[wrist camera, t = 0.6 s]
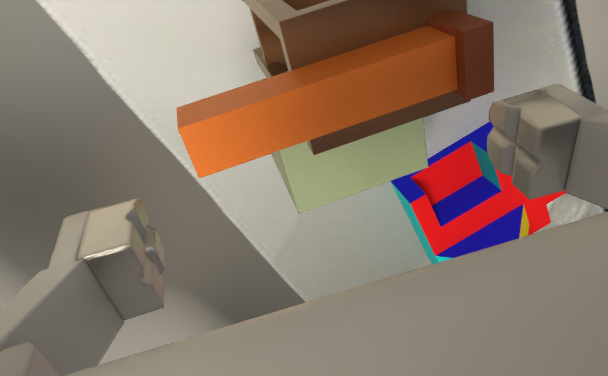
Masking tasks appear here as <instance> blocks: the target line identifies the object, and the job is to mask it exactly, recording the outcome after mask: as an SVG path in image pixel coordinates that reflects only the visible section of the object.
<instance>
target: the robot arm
mask: <svg viewBox="0 0 608 376" xmlns="http://www.w3.org/2000/svg"><path fill="white" fill-rule="evenodd" d="M489 121H490V122H491V123H492V124H493V126H494V127H493V129H492V130H491V132H490V133H489V135H488V136H487V151H488V155H489V159H490V161H491V162H492V164H493V166H494V167H495V168H496V169H497V170H498V171H499V172H500V173H503V174H506V175H509V176H512V184H513V185H514V186H515V187H516V188H517V189H518V190H519V191H520V192H521V193H523V194H524V195H525V196H526V197H527V198H528V199H529V200H531V199H535V198H539V197H542V196H546V195H550V194H554V193H558V192H561V191H565V193H568V194H570V195H573V196H576V197H578V198H581V199H583V200H586V201H588V202H591V203H593V204H596V205H598V206H601V207H603V208H606V209H608V110H606V109H604V108H602V107H600V106H598V105H597V104H595V103H593V102H591V101H590V100H588V99H586V98H584V97H582V96H581V95H579V94H577V93H575V92H573V91H572V90H570V89H568V88H566V87H564V86H563V85H559V84H553V85H549V86H546V87H543V88H540V89H537V90H534V91H531V92H527V93H524V94H521V95H517V96H514V97H511V98H507V99H504V100H501V101H497V102H494V103H492V106H491V108H490V111H489ZM164 260H165V259H164V254H163V249H162V245H161V242H160V239H159V236H158V234H157V232H156V230H155V229H154V228H152V227H150V226H148V225H147V212H146V210H145V208H144V206H143V204H142V202H141V201H140V200H138V199H134V200H130V201H126V202H122V203H118V204H114V205H110V206H107V207H103V208H98V209H94V210H91V211H86V212H82V213H79V214H75V215H72V216H69V217H67V218H65V219H64V220H63V223H62V226H61V229H60V232H59V235H58V239H57V242H56V245H55V248H54V251H53V254H52V258H51V261H50V264H49V267H48V269H46V270H42V271H40V272H39V273H38V274H37V275H36V276H35V277H34V278H32V279H31V280H30V281H29V282H28V283H27V284H26V285H25V286H24V287H23V288H22V289H21V290H20V291H19V292H18V293H17V294H16V295H14V296H13V297H12V298H11V299H10V300H9V301H8V302H7V303H6V304H5V305H4V306H3V307H2V308H1V309H0V376H608V212H605V213H602V214H598V215H595V216H592V217H588V218H585V219H582V220H578V221H575V222H572V223H568V224H565V225H562V226H558V227H555V228H552V229H548V230H545V231H542V232H538V233H535V234H532V235H529V236H525V237H522V238H519V239H515V240H512V241H509V242H505V243H502V244H499V245H495V246H492V247H489V248H485V249H482V250H479V251H475V252H472V253H469V254H465V255H462V256H459V257H456V258H452V259H449V260H446V261H442V262H439V263H436V264H433V265H429V266H426V267H423V268H419V269H416V270H413V271H409V272H406V273H403V274H399V275H396V276H393V277H389V278H386V279H383V280H379V281H376V282H373V283H370V284H366V285H363V286H360V287H356V288H353V289H350V290H346V291H343V292H340V293H336V294H333V295H330V296H326V297H323V298H320V299H316V300H313V301H310V302H306V303H304V304H300V305H297V306H293V307H290V308H287V309H283V310H280V311H277V312H274V313H270V314H267V315H263V316H260V317H257V318H253V319H250V320H247V321H243V322H240V323H237V324H233V325H230V326H227V327H223V328H220V329H217V330H214V331H210V332H207V333H204V334H200V335H197V336H194V337H190V338H187V339H184V340H180V341H177V342H174V343H170V344H167V345H164V346H160V347H157V348H154V349H150V350H147V351H144V352H140V353H137V354H134V355H131V356H127V357H124V358H121V359H118V360H114V361H111V362H107V363H104V364H101V365H98V364H99V362H100V361H101V359H102V357H103V356H104V354H105V353H106V351H107V349H108V348H109V346H110V344H111V343H112V341H113V340H114V338H115V336H116V335H117V333H118V332H119V330H120V328H121V327H122V325H123V324H124V321H123V320H127V319H129V318H133V317H136V316H139V315H142V314H145V313H148V312H151V311H154V310H158V309H160V308H164V283H163V280H162V279H161V277H160V274H161V273H162V272H163V270H164V269H165V263H164V262H165V261H164Z"/></svg>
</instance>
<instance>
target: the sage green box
mask: <svg viewBox="0 0 608 376" xmlns="http://www.w3.org/2000/svg"><path fill="white" fill-rule="evenodd" d="M271 154H272V157H273V159H274V161H275V163H276V165H277V167H278V170H279V172H280V174H281V176H282V178H283V181H284V183H285V185H286V187H287V189H288V191H289V194H290V196H291V198H292V200H293V202H294V204H295V207H296V209H297V211H298V213H302V212H305V211H308V210H310V209H313V208H316V207H319V206H322V205H324V204H327V203H330V202H333V201H335V200H338V199H341V198H344V197H347V196H349V195H352V194H355V193H358V192H361V191H363V190H366V189H369V188H372V187H375V186H377V185H380V184H383V183H386V182H388V181H391V180H394V179H397V178H400V177H402V176H405V175H408V174H411V173H414V172H416V171H419V170H422V169H425V168H428V160H427V151H426V141H425V131H424V122H423V118H420V119H417V120H414V121H411V122H409V123H406V124H403V125H400V126H397V127H394V128H391V129H388V130H386V131H383V132H380V133H377V134H374V135H371V136H368V137H365V138H362V139H360V140H357V141H354V142H351V143H348V144H345V145H342V146H339V147H337V148H334V149H331V150H328V151H325V152H322V153H319V154H316V155H313V153H312V152H311V150H310V149H309V147H308V143H307V141H306V142H303V143H300V144H297V145H294V146H291V147H289V148H286V149H283V150H280V151H277V152H274V153H271Z"/></svg>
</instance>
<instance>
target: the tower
mask: <svg viewBox="0 0 608 376" xmlns="http://www.w3.org/2000/svg"><path fill="white" fill-rule="evenodd" d="M428 25H429V26H425V27H422V28H419V29H416V30H413V31H410V32H407V33H404V34H401V35H398V36H395V37H392V38H389V39H386V40H382V41H379V42H376V43H373V44H370V45H367V46H364V47H361V48H358V49H355V50H352V51H349V52H346V53H343V54H340V55H337V56H334V57H331V58H327V59H324V60H321V61H318V62H315V63H312V64H309V65H306V66H303V67H300V68H297V69H294V70H291V71H288V72H285V73H282V74H279V75H276V76H272V77H269V78H266V79H263V80H260V81H257V82H254V83H251V84H248V85H245V86H242V87H239V88H236V89H233V90H230V91H227V92H224V93H221V94H217V95H214V96H211V97H208V98H205V99H202V100H199V101H196V102H193V103H190V104H187V105H184V106H181V107H178V108H177V122H178V130H179V133H180V135H181V137H182V140H183V142H184V144H185V146H186V149H187V151H188V153H189V156H190V158H191V160H192V163H193V165H194V167H195V170H196V172H197V174H198V176H199V178H201V177H204V176H207V175H210V174H213V173H216V172H219V171H222V170H224V169H227V168H230V167H233V166H236V165H239V164H242V163H245V162H248V161H251V160H254V159H256V158H259V157H262V156H265V155H268V154H271V153H274V152H277V151H280V150H283V149H286V148H289V147H291V146H294V145H297V144H300V143H303V142H306V141H309V140H312V139H315V138H318V137H321V136H323V135H326V134H329V133H332V132H335V131H338V130H341V129H344V128H347V127H350V126H353V125H355V124H358V123H361V122H364V121H367V120H370V119H373V118H376V117H379V116H382V115H385V114H387V113H390V112H393V111H396V110H399V109H402V108H405V107H408V106H411V105H414V104H417V103H419V102H422V101H425V100H428V99H431V98H434V97H437V96H440V95H443V94H446V93H449V92H451V91H452V92H453V93H455V94H457V95H459V96H460V97H462V98H464V99H465V100H471V99H474V98H476V97H479V96H482V95H485V94H488V93H491V92H493V91H494V41H493V22H491V21H488V20H485V19H482V18H478V17H475V16H472V15H469V14H466V13H462V12H459V11H456V10H451V11H448V12H445V13H442V14H439V15H436V16H433V17H430V18H428Z"/></svg>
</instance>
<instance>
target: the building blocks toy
mask: <svg viewBox="0 0 608 376" xmlns="http://www.w3.org/2000/svg"><path fill="white" fill-rule="evenodd" d="M493 127H494V126H493V124H492V123H491V122H489V123H487V124H485V125H484V126H482V127H480V128H479V129H477V130H475V131H474V132H472V133H470V134H469V135H467V136H465V137H464V138H462V139H460V140H459V141H457V142H455V143H454V144H452V145H450V146H449V147H447V148H445V149H444V150H442V151H440V152H439V153H437V154H436V155H434V156H432V157H431V158H429V159H427V160H428V168H425V169H422V170H419V171H416V172H414V173H411V174H408V175H405V176H402V177H400V178H397V179H394V180H392V181H391V183H392V185H393V187H394V189H395V191H396V193H397V195H398V197H399V199H400V201H401V203H402V205H403V207H404V209H405V211H406V213H407V215H408V217H409V219H410V221H411V223H412V225H413V227H414V229H415V231H416V233H417V235H418V238H419V240H420V242H421V244H422V246H423V248H424V250H425V252H426V254H427V256H428V258H429V259H430V260H431V262H432V263H433V264H436V263H439V262H442V261H446V260H449V259H452V258H456V257H459V256H462V255H465V254H469V253H472V252H475V251H479V250H482V249H485V248H489V247H492V246H495V245H499V244H502V243H505V242H509V241H512V240H515V239H519V238H522V237H525V236H529V235H530V234H532V233H534V232H536V231H537V230H539V229H541V228H542V227H544V226H546V225H547V224H549V223H551V222H550V218H549V213H548V209H547V205H546V204H548V203H549V202H551V201H553V200H554V199H556V198H558V197H560V196H561V195H563V194H565V191H561V192H558V193H554V194H550V195H546V196H542V197H539V198H535V199H531V200H529V199H528V198H527V197H526V196H525V195H524V194H523V193H521V192H520V191H519V190H518V189H517V188H516V187H515V186H514V185H513V184H512V176H509V175H506V174H503V173H500V172H499V171H498V170H497V169H496V168H495V167H494V166H493V164H492V162H491V161H490V159H489V155H488V151H487V136H488V135H489V133H490V132H491V130H492V129H493Z"/></svg>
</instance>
